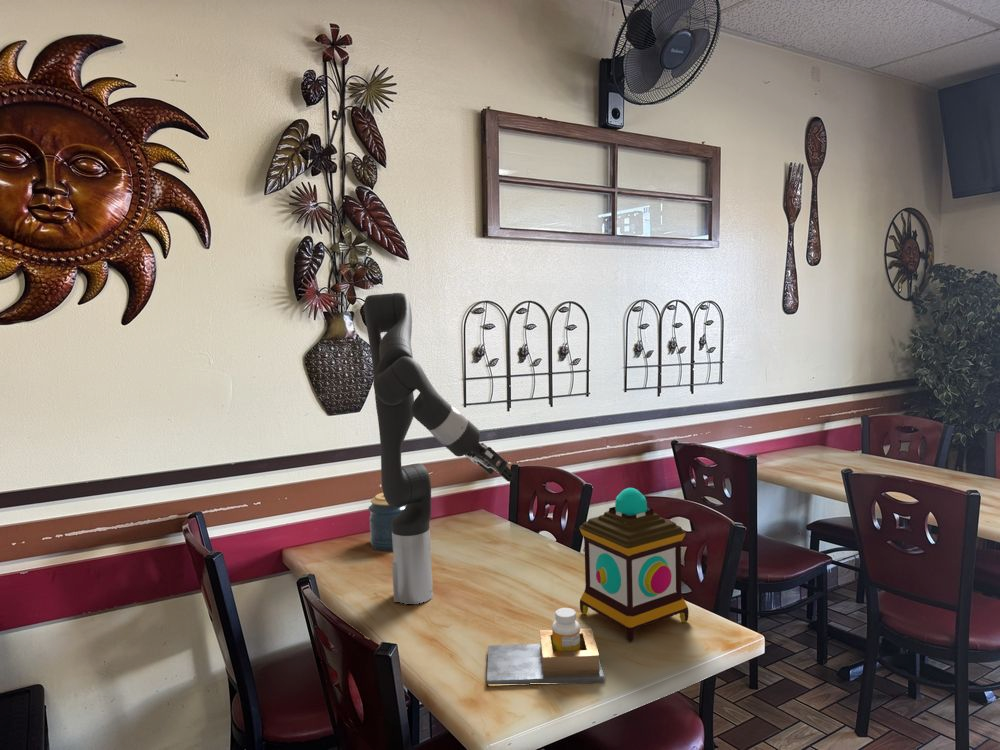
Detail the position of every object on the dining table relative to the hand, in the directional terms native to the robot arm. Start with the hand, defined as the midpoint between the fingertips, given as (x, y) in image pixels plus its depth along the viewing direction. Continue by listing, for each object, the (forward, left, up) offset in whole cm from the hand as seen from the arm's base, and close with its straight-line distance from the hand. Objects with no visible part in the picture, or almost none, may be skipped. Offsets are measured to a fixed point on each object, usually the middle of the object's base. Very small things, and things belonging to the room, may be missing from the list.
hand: (502, 474), depth 148 cm
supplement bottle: (+11, -21, -33) cm, 40 cm away
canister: (-35, +52, -34) cm, 72 cm away
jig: (+7, -21, -34) cm, 40 cm away
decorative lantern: (+28, -2, -34) cm, 44 cm away
